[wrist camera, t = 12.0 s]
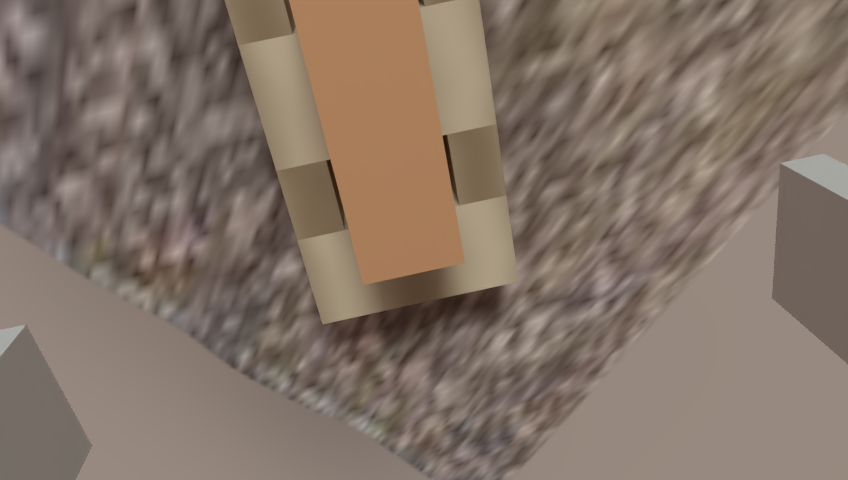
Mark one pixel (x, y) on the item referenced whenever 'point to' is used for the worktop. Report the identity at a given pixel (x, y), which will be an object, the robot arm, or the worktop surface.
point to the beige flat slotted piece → (314, 177)
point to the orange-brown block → (382, 132)
